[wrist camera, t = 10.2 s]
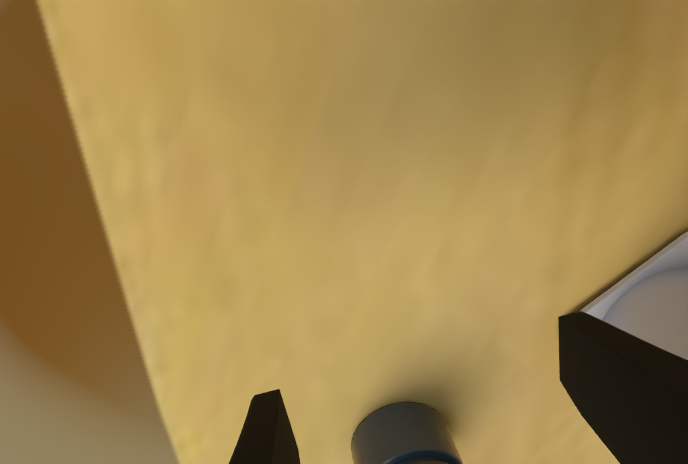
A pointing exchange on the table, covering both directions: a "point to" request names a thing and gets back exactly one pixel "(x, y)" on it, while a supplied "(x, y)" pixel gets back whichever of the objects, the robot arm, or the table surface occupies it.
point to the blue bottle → (404, 437)
